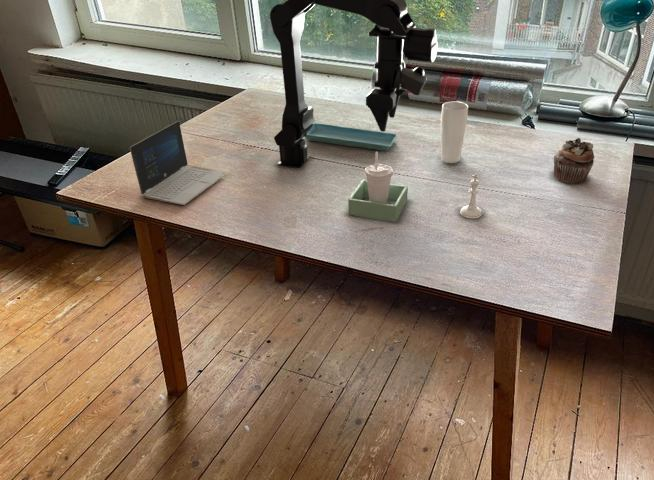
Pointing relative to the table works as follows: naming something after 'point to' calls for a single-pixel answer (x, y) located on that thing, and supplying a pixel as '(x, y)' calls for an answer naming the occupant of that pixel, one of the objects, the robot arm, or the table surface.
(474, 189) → the chess piece
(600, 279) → the table surface
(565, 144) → the cupcake
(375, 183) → the smoothie
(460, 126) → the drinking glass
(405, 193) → the green open tray
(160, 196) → the laptop
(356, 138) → the shallow long dish
